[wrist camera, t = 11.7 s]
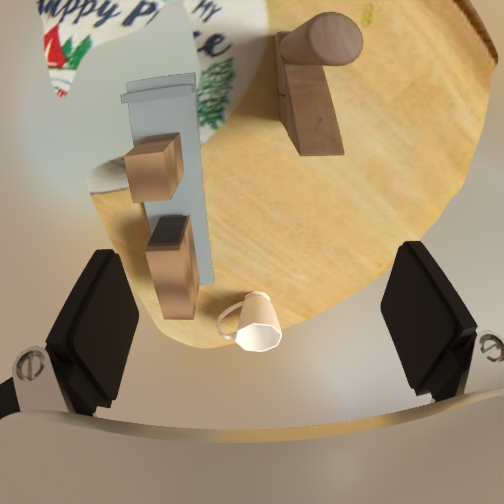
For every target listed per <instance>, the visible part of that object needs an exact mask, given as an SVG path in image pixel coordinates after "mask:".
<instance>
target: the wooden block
mask: <svg viewBox="0 0 504 504" xmlns="http://www.w3.org/2000/svg"><path fill="white" fill-rule="evenodd" d="M274 40H275V53H276V66H277V79H278V91H279V93H280V94H279V110H280V120H281V122H282V124H283V126H284V127H285V129H286V131H287V132H288V136H289V137H290V139H291V141H292V143H293V144H294V146H295V148H296V150H297V152H298V153H299V155H300V156H329V155H344V148H343V144H342V139H341V135H340V130H339V126H338V122H337V118H336V114H335V110H334V106H333V102H332V98H331V95H330V91H329V87H328V84H327V80H326V77H325V73H324V70H323V67H322V65H323V66H344V65H347V64H349V63H352V62H353V61H354V60H355V59H357V58H358V57H359V55H360V53H361V51H362V48H363V37H362V33H361V31H360V29H359V27H358V26H357V24H356V23H355V22H354V21H353V20H352V19H351V18H349V17H347V16H345V15H343V14H341V13H336V12H323V13H321V14H318V15H316V16H314V17H313V18H311V19H310V20H308V21H307V22H305V23H304V24H302V25H301V26H299V27H298V28H296V29H295V30H293V31H292V32H278V33H277V34H276V35H275V36H274Z"/></svg>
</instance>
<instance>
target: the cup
mask: <svg viewBox="0 0 504 504" xmlns="http://www.w3.org/2000/svg"><path fill="white" fill-rule="evenodd" d="M240 306H243V307H242V310H241V314H240V319H239V324H238V329H237V332H234V333H230V334H224V333H223V332H221V331H220V322H221V320H222V318H224V317H225V316H226V315H227V314H228V313H230V312H231V311H233V310H234V309H236V308H238V307H240ZM217 329H218V332H219V334H220V335H221V336H222V337H223V338H225V339H235V338H236V339H235V342H236V343H237V344H239V345H240V346H241V347H242V348H243V349H244V350H248V351H258V352H264V351H266V350H269V349H271V348H273V347H276V346H278V344H279V341H280V339H281V337H282V332H281V329H280V326H279V323H278V319H277V316H276V313H275V310H274V308H273V306H272V304H271V303H270V298H269V297H268V295H267V294H266V293H265V292H260V291H253V292H251V293H249V294H247V295H245V299H244V301H240V302H238V303H236V304H234V305H232V306H231V307H229V308H228V309H226V310H225V311H223V312H222V313H221V314H220V315H219V316H218V319H217Z"/></svg>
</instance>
